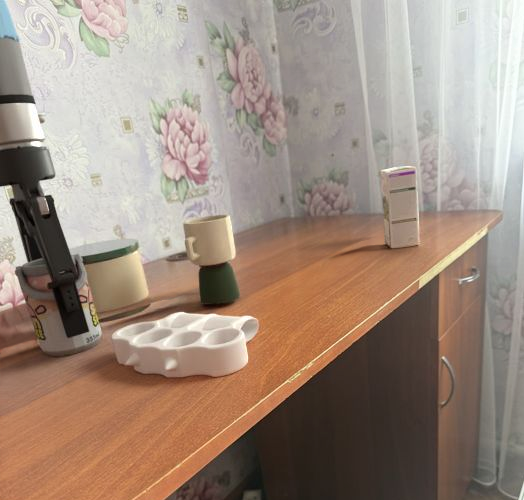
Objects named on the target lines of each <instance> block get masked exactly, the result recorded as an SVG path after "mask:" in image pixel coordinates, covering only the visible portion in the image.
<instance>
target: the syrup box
mask: <svg viewBox="0 0 524 500" xmlns="http://www.w3.org/2000/svg"><path fill="white" fill-rule="evenodd" d="M380 178H381V179H380V181H381V182H380V183H381V198H382V199H381V200H382V215H383V217H382V218H383V232H384V244H385V245H387V246H388V247H389V248H390V249H401V248H408V247H415V246H419V245H420V217H419V192H418V168H417V167H416V166H410V165H404V166H403V165H402V166H394V167H390V168H386V169H381V170H380Z"/></svg>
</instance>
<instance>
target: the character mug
mask: <svg viewBox="0 0 524 500" xmlns="http://www.w3.org/2000/svg"><path fill="white" fill-rule="evenodd" d="M232 227H233V226H232V221H231V216H230V214H215V215H207V216H202V217H196V218H191V219H188V220H185V221H183V222H182V228H183V232H184V246H185V251H186V256H187V259H188V260H189V261H190V262H191V263H192V264H193V265H195V266H198V267H199V270H198V289H199V291H198V292H199V301H200V304H202V305H206V304H212V305H213V306H218V304H223V303H225V304H226V303H230V302H234V301H236V300H238V299H239V298H240V297H241V292H240V288H239V284H238V281H237V278H236V275H235V272H234V268H233V266H232V265H231V263H230V261H232V260H233V259H235V258H236V247H235V246H236V245H235V240H234V234H233V228H232Z"/></svg>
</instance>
